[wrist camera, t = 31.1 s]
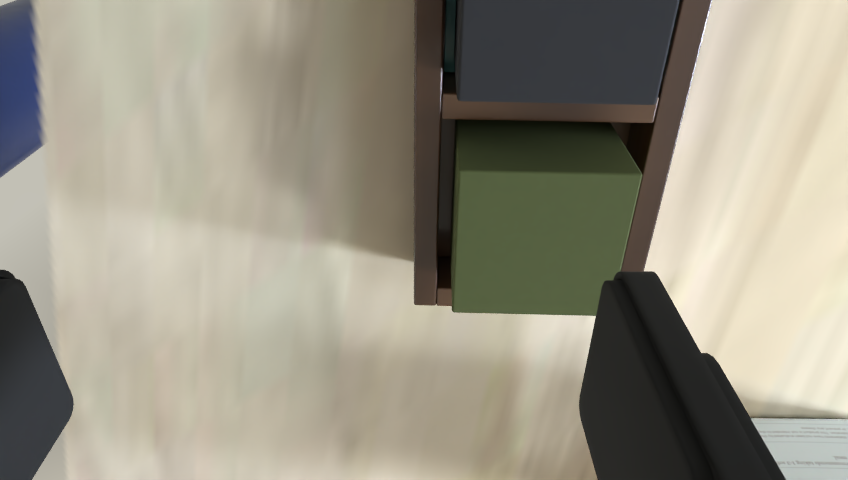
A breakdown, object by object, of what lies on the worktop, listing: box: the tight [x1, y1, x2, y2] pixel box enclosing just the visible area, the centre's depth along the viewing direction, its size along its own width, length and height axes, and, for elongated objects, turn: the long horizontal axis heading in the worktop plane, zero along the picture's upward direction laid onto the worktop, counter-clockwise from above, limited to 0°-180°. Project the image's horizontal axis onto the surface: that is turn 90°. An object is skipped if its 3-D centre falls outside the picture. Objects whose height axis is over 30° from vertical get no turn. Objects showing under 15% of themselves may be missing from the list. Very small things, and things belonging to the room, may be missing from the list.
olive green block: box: [450, 119, 642, 316], centre depth 20 cm, size 5×5×4 cm
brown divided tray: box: [414, 0, 712, 306], centre depth 19 cm, size 8×15×3 cm, turn 179°
